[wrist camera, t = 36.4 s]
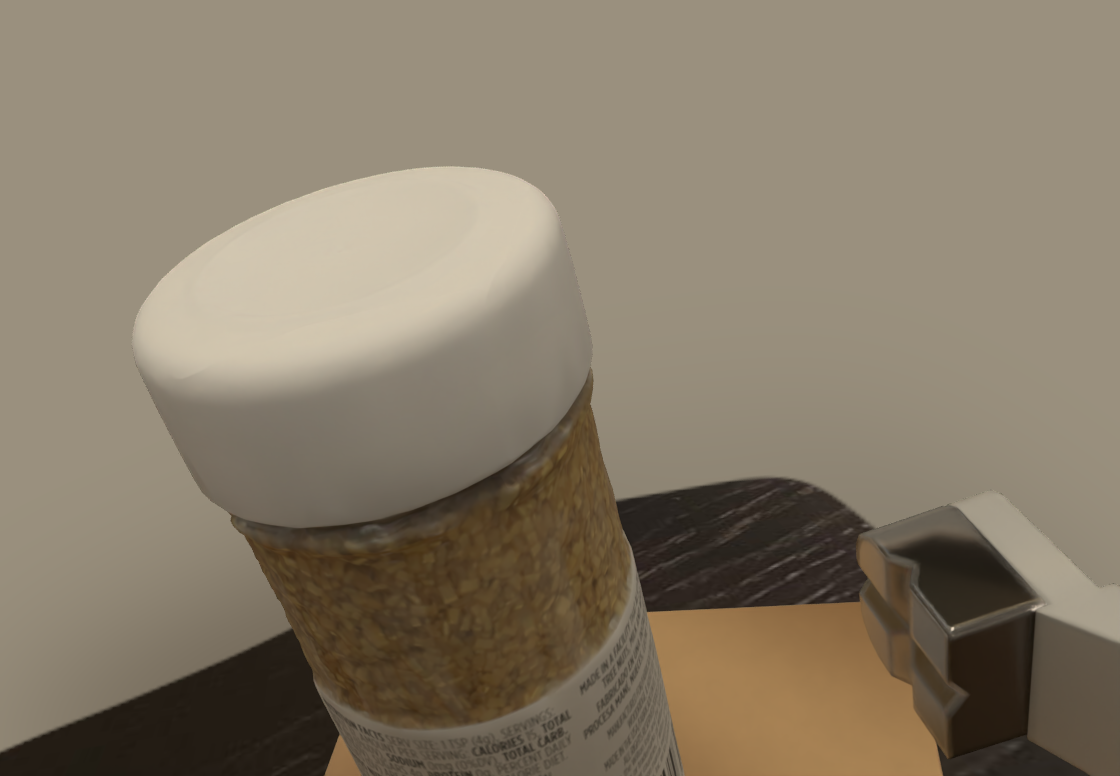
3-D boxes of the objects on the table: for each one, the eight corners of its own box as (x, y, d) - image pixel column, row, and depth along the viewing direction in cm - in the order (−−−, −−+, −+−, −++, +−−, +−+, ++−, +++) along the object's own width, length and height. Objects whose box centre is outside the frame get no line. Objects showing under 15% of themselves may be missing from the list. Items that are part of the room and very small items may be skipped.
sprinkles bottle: (542, 783, 20) (314, 153, 13) (760, 858, 18) (631, 146, 10) (416, 1009, 17) (17, 343, 10) (661, 1136, 15) (381, 392, 7)
